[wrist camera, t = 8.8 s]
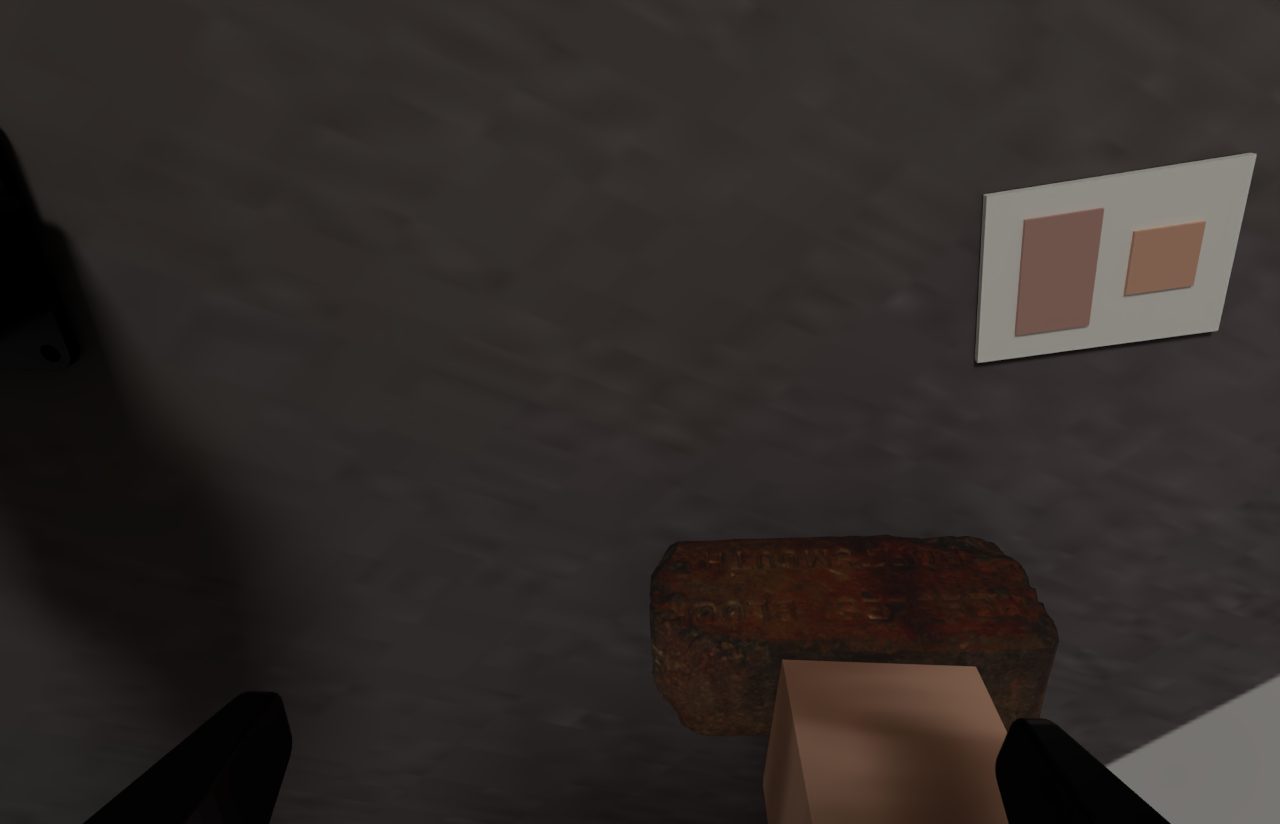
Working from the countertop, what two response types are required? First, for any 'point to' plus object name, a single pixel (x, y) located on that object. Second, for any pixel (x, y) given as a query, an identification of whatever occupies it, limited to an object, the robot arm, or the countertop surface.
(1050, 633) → the brick
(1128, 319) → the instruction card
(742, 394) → the countertop surface
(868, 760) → the top block
